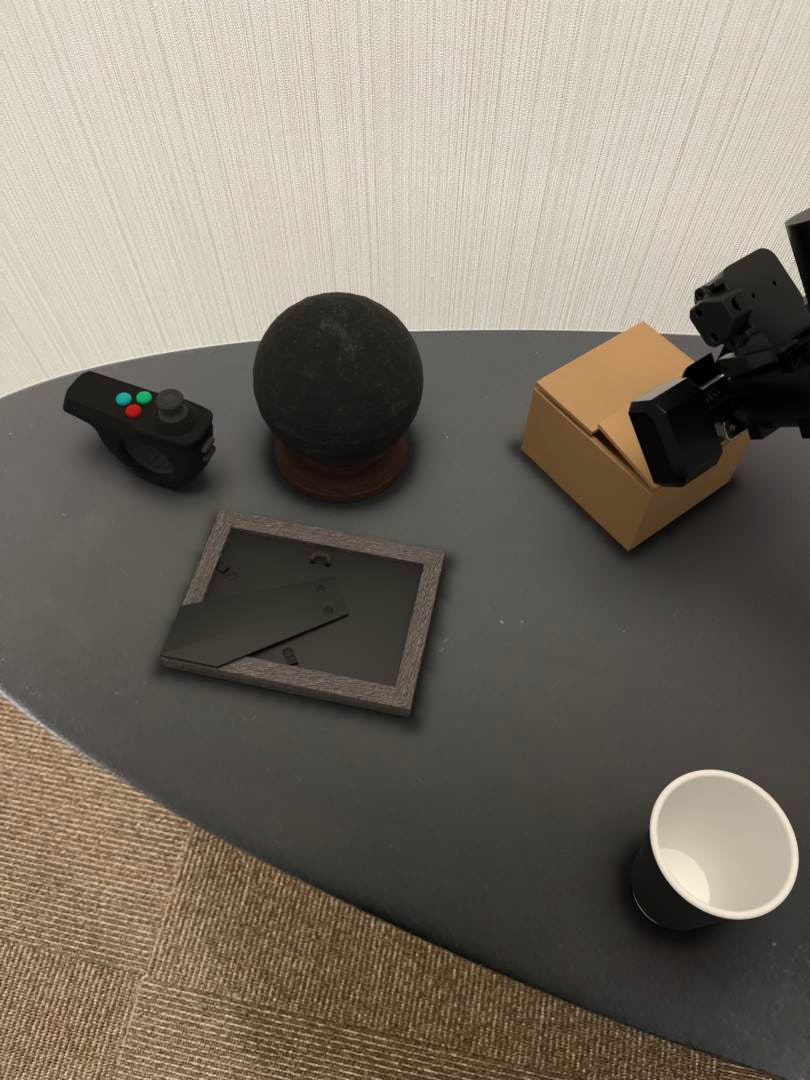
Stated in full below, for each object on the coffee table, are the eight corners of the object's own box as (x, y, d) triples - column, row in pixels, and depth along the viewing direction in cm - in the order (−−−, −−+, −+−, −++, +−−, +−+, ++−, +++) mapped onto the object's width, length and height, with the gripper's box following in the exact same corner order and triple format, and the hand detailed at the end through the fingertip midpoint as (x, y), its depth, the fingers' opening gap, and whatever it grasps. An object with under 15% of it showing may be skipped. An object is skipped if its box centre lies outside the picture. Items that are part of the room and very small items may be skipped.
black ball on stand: (386, 532, 73) (389, 404, 60) (237, 484, 75) (210, 351, 62) (439, 416, 80) (452, 280, 67) (301, 376, 82) (289, 237, 69)
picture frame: (165, 667, 65) (409, 718, 64) (159, 654, 64) (410, 706, 62) (223, 520, 73) (443, 562, 71) (219, 505, 71) (445, 548, 70)
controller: (208, 511, 73) (186, 430, 65) (77, 462, 76) (41, 377, 67) (234, 473, 75) (216, 389, 67) (107, 426, 78) (75, 340, 70)
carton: (728, 481, 77) (764, 415, 70) (628, 551, 72) (654, 488, 65) (620, 389, 82) (642, 319, 75) (520, 449, 78) (534, 381, 71)
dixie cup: (734, 967, 55) (806, 931, 46) (604, 943, 56) (649, 903, 47) (729, 837, 60) (794, 781, 51) (609, 817, 60) (651, 757, 51)
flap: (760, 418, 70) (763, 415, 70) (652, 490, 66) (655, 488, 65) (705, 359, 72) (707, 356, 71) (596, 426, 67) (598, 423, 67)
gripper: (901, 193, 56) (712, 246, 70) (695, 314, 49) (530, 345, 63) (944, 360, 59) (755, 379, 73) (755, 495, 53) (586, 487, 66)
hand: (661, 394), depth 69 cm, fingers closed, pressing on flap
